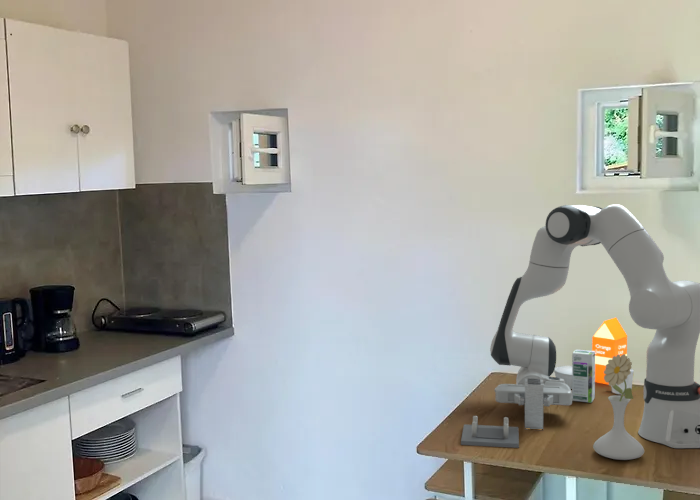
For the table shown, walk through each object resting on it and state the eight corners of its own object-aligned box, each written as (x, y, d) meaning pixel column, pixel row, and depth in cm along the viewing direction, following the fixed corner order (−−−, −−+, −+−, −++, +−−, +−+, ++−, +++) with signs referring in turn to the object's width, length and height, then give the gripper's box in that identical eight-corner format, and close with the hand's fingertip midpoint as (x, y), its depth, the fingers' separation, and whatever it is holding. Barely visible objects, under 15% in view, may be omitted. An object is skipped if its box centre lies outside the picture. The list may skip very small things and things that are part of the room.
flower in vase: (587, 447, 188) (588, 346, 186) (635, 447, 187) (637, 345, 185) (601, 467, 175) (603, 358, 173) (653, 467, 174) (655, 358, 172)
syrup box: (571, 401, 226) (571, 352, 225) (575, 396, 232) (576, 348, 230) (591, 403, 224) (592, 354, 222) (595, 398, 229) (595, 350, 228)
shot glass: (630, 396, 230) (631, 373, 230) (607, 393, 234) (607, 370, 233) (635, 390, 236) (635, 368, 235) (612, 387, 240) (612, 365, 239)
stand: (518, 430, 201) (518, 413, 200) (518, 447, 188) (518, 429, 188) (464, 428, 204) (464, 411, 203) (460, 444, 191) (460, 427, 191)
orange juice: (591, 381, 248) (592, 319, 246) (604, 376, 254) (605, 316, 252) (614, 385, 242) (615, 322, 240) (627, 380, 248) (628, 318, 246)
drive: (542, 423, 207) (542, 378, 206) (543, 430, 201) (543, 384, 200) (524, 422, 208) (524, 377, 207) (525, 429, 202) (525, 383, 201)
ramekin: (586, 392, 235) (586, 375, 235) (549, 388, 241) (549, 371, 240) (594, 384, 245) (594, 367, 244) (559, 380, 250) (559, 364, 250)
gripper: (494, 376, 218) (493, 389, 205) (569, 379, 214) (573, 392, 201) (494, 398, 219) (493, 412, 205) (569, 401, 215) (573, 416, 201)
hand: (534, 402), depth 203 cm, fingers open, 5 cm apart
